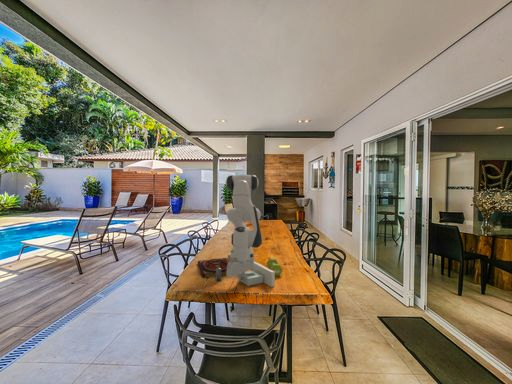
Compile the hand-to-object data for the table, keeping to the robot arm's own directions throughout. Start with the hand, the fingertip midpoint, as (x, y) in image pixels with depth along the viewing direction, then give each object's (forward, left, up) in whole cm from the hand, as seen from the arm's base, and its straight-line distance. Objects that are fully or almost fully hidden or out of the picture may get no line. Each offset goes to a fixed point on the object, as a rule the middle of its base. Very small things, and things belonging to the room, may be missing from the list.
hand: (240, 280), depth 143 cm
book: (-32, -2, -3) cm, 32 cm away
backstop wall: (0, +14, -2) cm, 14 cm away
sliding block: (0, +7, -2) cm, 7 cm away
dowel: (-11, -9, -2) cm, 14 cm away
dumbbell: (-7, +28, -2) cm, 29 cm away
